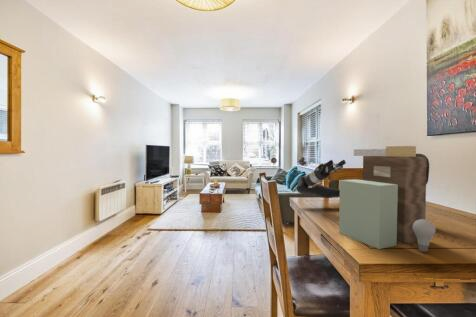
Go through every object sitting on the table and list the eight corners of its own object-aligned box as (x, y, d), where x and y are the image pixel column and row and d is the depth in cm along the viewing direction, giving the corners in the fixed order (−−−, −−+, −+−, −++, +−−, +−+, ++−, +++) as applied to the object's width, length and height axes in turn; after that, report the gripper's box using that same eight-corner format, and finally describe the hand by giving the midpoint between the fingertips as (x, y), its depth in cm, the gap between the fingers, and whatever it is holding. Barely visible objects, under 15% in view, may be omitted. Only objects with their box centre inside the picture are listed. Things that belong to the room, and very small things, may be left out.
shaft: (360, 155, 114) (360, 147, 114) (415, 156, 91) (415, 146, 91) (351, 155, 112) (351, 147, 112) (406, 156, 89) (406, 146, 89)
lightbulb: (439, 256, 76) (440, 222, 76) (417, 254, 78) (418, 221, 77) (428, 249, 82) (428, 217, 82) (408, 247, 84) (409, 216, 83)
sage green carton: (355, 230, 102) (355, 179, 102) (396, 245, 85) (397, 184, 85) (338, 232, 99) (339, 180, 98) (378, 249, 82) (380, 185, 82)
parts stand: (381, 226, 108) (382, 156, 107) (424, 239, 91) (426, 156, 91) (361, 229, 103) (362, 156, 103) (403, 244, 87) (405, 156, 86)
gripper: (331, 179, 137) (351, 167, 124) (311, 180, 132) (330, 168, 118) (326, 168, 140) (346, 155, 127) (307, 168, 135) (325, 155, 122)
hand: (338, 161), depth 123 cm, fingers open, 8 cm apart
